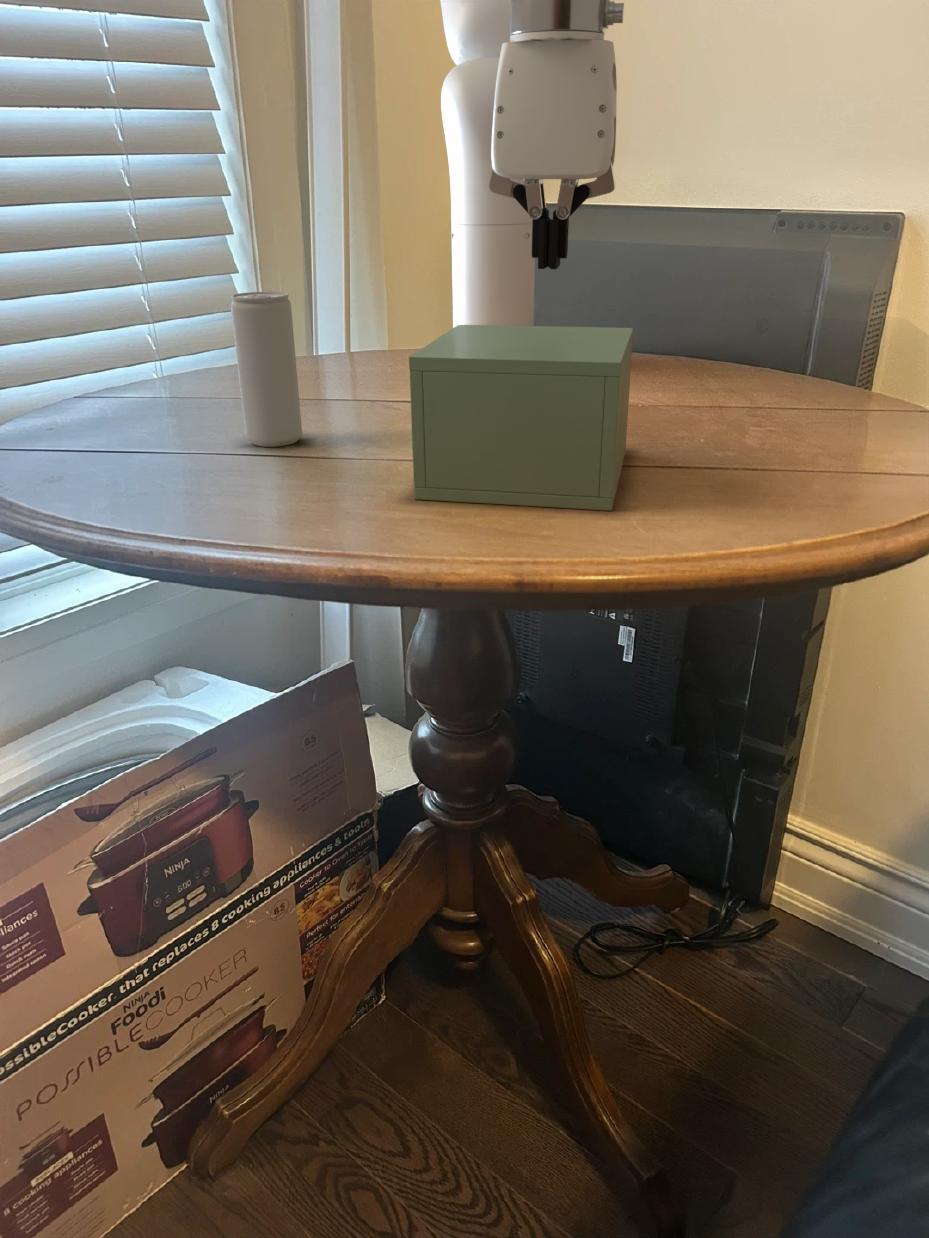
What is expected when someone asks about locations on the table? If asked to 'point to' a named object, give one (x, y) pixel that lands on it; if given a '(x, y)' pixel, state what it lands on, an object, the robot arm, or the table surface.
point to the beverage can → (267, 367)
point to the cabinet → (521, 415)
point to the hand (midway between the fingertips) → (549, 267)
